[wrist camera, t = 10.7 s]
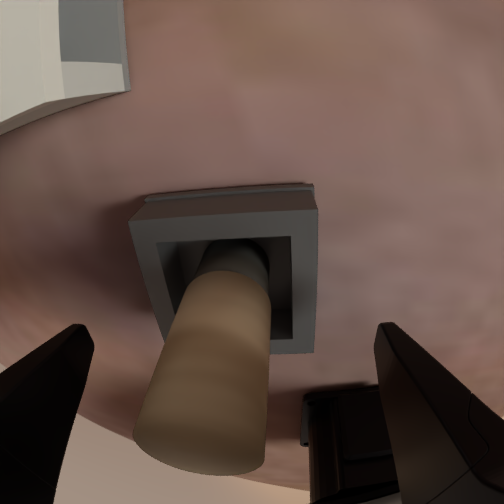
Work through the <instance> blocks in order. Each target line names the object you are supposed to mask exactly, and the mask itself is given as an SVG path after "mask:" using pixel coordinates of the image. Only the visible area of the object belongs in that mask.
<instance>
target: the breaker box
mask: <svg viewBox="0 0 504 504" xmlns="http://www.w3.org/2000/svg"><path fill="white" fill-rule="evenodd" d="M127 91H131V87H130V79H129V70H128V60H127V50H126V39H125V25H124V9H123V0H0V135H3V134H5V133H7V132H9V131H11V130H14V129H16V128H18V127H21V126H23V125H26V124H28V123H30V122H33V121H36V120H38V119H41V118H43V117H46V116H49V115H51V114H54V113H57V112H60V111H63V110H66V109H69V108H72V107H75V106H78V105H81V104H84V103H87V102H91V101H94V100H97V99H101V98H104V97H108V96H112V95H115V94H119V93H123V92H127Z"/></svg>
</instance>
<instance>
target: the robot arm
mask: <svg viewBox="0 0 504 504" xmlns="http://www.w3.org/2000/svg"><path fill="white" fill-rule="evenodd" d="M93 352H94V342H93V340H92V338H91V336H90V334H89V332H88V330H87V328H86V326H85V325H83V324H72V325H71V326H69V327H68V328H66V329H65V330H63V331H62V332H60V333H59V334H57V335H56V336H54V337H53V338H51V339H50V340H48V341H47V342H45V343H44V344H42V345H41V346H39V347H38V348H36V349H35V350H33V351H32V352H30V353H29V354H27V355H26V356H25V357H23V358H22V359H20V360H19V361H17V362H16V363H14V364H13V365H12V366H10V367H9V368H7V369H6V370H4V371H3V372H1V373H0V504H53V502H54V497H55V492H56V487H57V483H58V479H59V475H60V470H61V466H62V462H63V459H64V455H65V451H66V447H67V444H68V440H69V436H70V433H71V430H72V426H73V423H74V420H75V417H76V413H77V410H78V407H79V404H80V401H81V398H82V395H83V392H84V388H85V385H86V381H87V376H88V372H89V368H90V364H91V360H92V356H93ZM374 354H375V361H376V368H377V376H378V384H379V387H375V388H366V389H357V390H347V391H335V392H322V393H310V394H306V395H305V396H304V397H303V403H302V419H301V432H300V445H301V446H303V447H309V472H310V504H504V420H503V419H502V418H501V417H500V416H498V415H497V414H496V413H495V412H493V411H492V410H491V409H490V408H489V407H488V406H487V405H485V404H484V403H483V402H482V401H481V400H480V399H479V398H478V397H477V396H476V395H474V394H473V393H472V394H471V391H470V390H469V389H468V388H467V387H466V386H465V385H463V384H462V383H461V382H460V381H459V380H458V379H457V378H456V377H455V376H454V375H453V374H451V373H450V372H449V371H448V370H447V369H446V368H445V367H444V366H443V365H441V364H440V363H439V362H438V361H437V360H436V359H435V358H434V357H433V356H431V355H430V354H429V353H428V352H427V351H426V350H425V349H424V348H422V347H421V346H420V345H419V344H418V343H417V342H416V341H414V340H413V339H412V338H411V337H410V336H409V335H408V334H406V333H405V332H404V331H403V330H402V329H401V328H400V327H398V326H397V325H396V324H395V323H393V322H385V323H380V324H379V325H378V329H377V333H376V338H375V342H374Z"/></svg>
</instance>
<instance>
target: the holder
mask: <svg viewBox="0 0 504 504" xmlns="http://www.w3.org/2000/svg"><path fill="white" fill-rule="evenodd" d="M128 225H129V229H130V233H131V236H132V240H133V244H134V248H135V251H136V255H137V258H138V262H139V265H140V269H141V272H142V276H143V279H144V282H145V285H146V289H147V292H148V295H149V298H150V301H151V304H152V307H153V311H154V314H155V317H156V319H157V322H158V325H159V328H160V331H161V334H162V337H163V340H164V342H166V339H167V336H168V334H169V331H170V328H171V326H172V323H173V321H174V318H175V316H176V313H177V310H178V308H179V305H180V303H181V300H182V298H183V295H184V293H185V291H186V289H187V287H188V285H189V284H190V283H191V282H192V281H193V279H194V276H195V274H196V271H197V269H198V266H199V264H200V261H201V259H202V256H203V254H204V252H205V250H206V248H207V247H208V246H209V245H210V244H211V243H212V242H214V241H215V240H217V239H234V238H248V239H250V240H252V241H254V242H256V243H257V244H258V245H259V246H261V247H262V249H263V250H264V251H265V253H266V254H267V256H268V259H269V264H270V274H269V300H270V303H271V329H270V354H298V353H314V338H315V320H316V297H317V264H318V208H317V205H316V202H315V199H314V185H313V184H288V185H267V186H250V187H235V188H221V189H209V190H197V191H186V192H175V193H165V194H156V195H148V196H147V197H146V198H145V204H144V205H143V206H142V207H141V208H140V209H139V210H138V211H137V212H136V213H135V214H134V215H133V216H132V217H131V219H130V220H129V221H128Z"/></svg>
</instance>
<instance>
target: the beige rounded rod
mask: <svg viewBox="0 0 504 504" xmlns="http://www.w3.org/2000/svg"><path fill="white" fill-rule="evenodd" d="M269 274H270V264H269V259H268V256H267V254H266V253H265V251H264V250H263V249H262V247H261V246H259V245H258V244H257V243H256V242H254V241H252V240H250V239H248V238H234V239H217V240H215V241H214V242H212V243H211V244H210V245H209V246H208V247H207V248H206V250H205V252H204V254H203V256H202V259H201V261H200V264H199V266H198V269H197V271H196V274H195V276H194V279H193V281H192V282H191V283H190V284H189V285H188V287H187V289H186V291H185V293H184V295H183V298H182V300H181V303H180V305H179V308H178V310H177V313H176V316H175V318H174V321H173V323H172V326H171V328H170V331H169V334H168V336H167V339H166V342H165V344H164V347H163V349H162V352H161V355H160V357H159V360H158V363H157V366H156V368H155V371H154V374H153V376H152V379H151V382H150V385H149V388H148V390H147V393H146V396H145V399H144V402H143V404H142V407H141V410H140V413H139V416H138V419H137V422H136V425H135V428H134V431H133V438H134V440H135V442H136V444H137V445H138V446H139V447H140V448H141V449H142V450H143V451H144V452H146V453H147V454H148V455H150V456H151V457H153V458H155V459H157V460H159V461H160V462H163V463H165V464H167V465H170V466H172V467H175V468H178V469H181V470H185V471H189V472H193V473H199V474H205V475H216V476H230V475H239V474H244V473H248V472H251V471H254V470H256V469H257V468H259V467H260V466H261V465H262V464H263V462H264V457H265V440H266V421H267V400H268V379H269V355H270V329H271V303H270V300H269Z"/></svg>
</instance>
